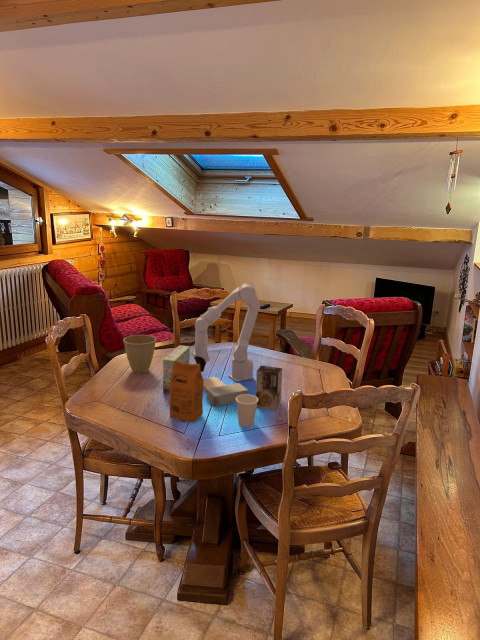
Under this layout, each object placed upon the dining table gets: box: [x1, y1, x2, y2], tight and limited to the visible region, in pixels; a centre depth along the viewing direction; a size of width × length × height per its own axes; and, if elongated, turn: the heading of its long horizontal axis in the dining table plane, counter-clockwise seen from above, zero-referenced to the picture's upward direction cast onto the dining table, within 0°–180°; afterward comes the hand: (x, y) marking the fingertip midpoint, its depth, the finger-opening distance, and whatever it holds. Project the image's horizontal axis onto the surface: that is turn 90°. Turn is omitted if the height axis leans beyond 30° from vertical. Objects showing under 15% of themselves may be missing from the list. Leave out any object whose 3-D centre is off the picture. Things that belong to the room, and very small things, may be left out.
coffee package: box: [168, 360, 204, 424], centre depth 173 cm, size 10×12×22 cm
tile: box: [203, 376, 226, 393], centre depth 204 cm, size 9×13×2 cm
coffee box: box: [255, 365, 283, 412], centre depth 184 cm, size 9×6×16 cm
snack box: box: [162, 345, 191, 394], centre depth 204 cm, size 21×6×15 cm, turn 168°
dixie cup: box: [235, 393, 258, 428], centre depth 170 cm, size 8×8×10 cm
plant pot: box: [123, 334, 157, 374], centre depth 218 cm, size 15×15×16 cm
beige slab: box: [206, 382, 249, 407], centre depth 191 cm, size 15×8×4 cm, turn 118°
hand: (200, 371), depth 214 cm, fingers closed
